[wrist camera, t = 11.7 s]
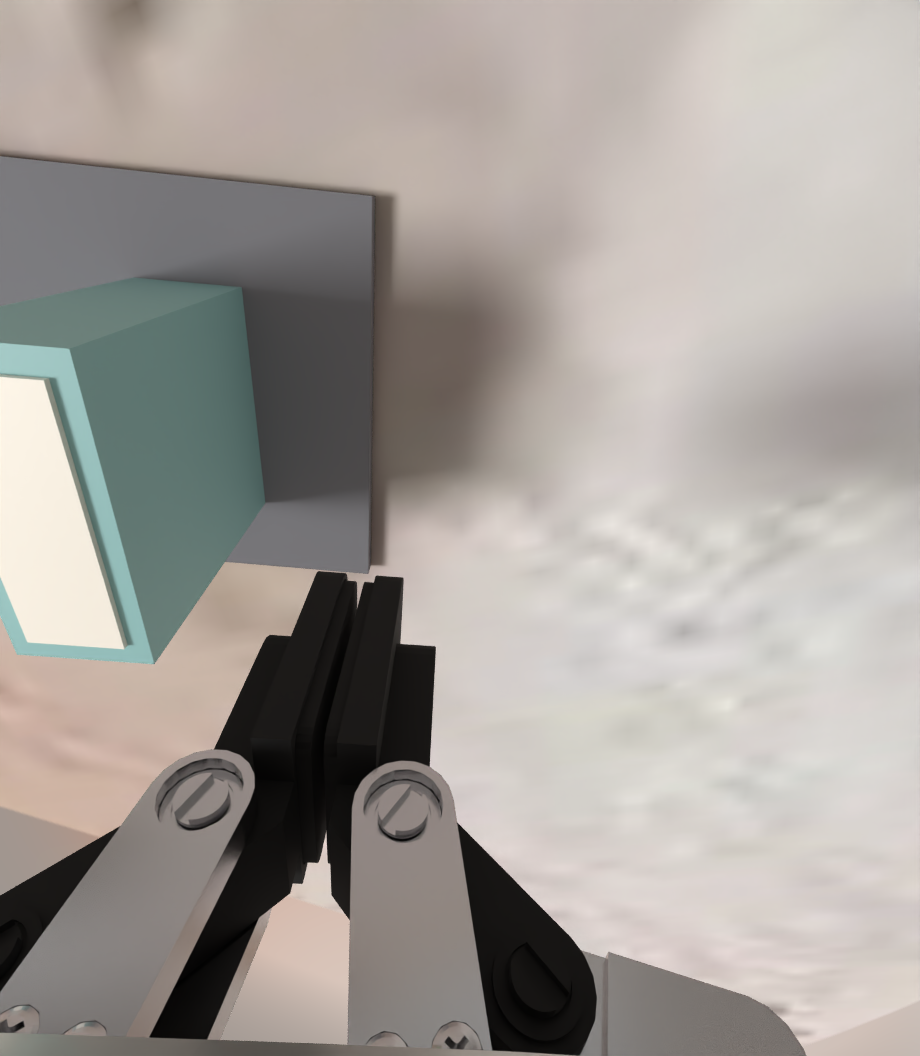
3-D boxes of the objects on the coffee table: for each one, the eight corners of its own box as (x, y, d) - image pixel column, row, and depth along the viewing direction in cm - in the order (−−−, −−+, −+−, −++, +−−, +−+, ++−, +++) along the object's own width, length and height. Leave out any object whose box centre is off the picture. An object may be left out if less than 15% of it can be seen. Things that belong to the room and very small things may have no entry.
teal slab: (133, 277, 18) (-132, 334, 10) (241, 287, 18) (63, 350, 10) (177, 496, 22) (12, 658, 14) (265, 503, 22) (151, 668, 14)
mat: (-222, 132, 17) (-245, 130, 16) (375, 196, 17) (372, 195, 17) (-50, 530, 24) (-61, 537, 23) (370, 565, 24) (368, 573, 24)
